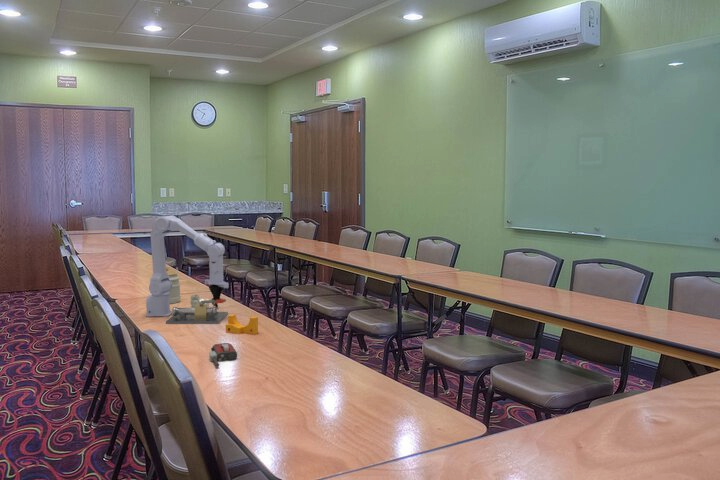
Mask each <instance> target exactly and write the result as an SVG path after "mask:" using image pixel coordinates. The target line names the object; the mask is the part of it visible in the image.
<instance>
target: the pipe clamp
mask: <svg viewBox="0 0 720 480" xmlns="http://www.w3.org/2000/svg"><path fill="white" fill-rule="evenodd" d="M225 333H227V334H237V335H241V334H250V335H256V334H258V333H259V317H258V316H252V317H251V316H250V318H249V322H248V324H247V325H243V324H241V323H240V322H239V319H238V318H237V315H236V314H234V313H233V314H229V315H228V314H227V323H226V324H225Z"/></svg>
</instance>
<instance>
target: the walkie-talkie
mask: <svg viewBox="0 0 720 480" xmlns="http://www.w3.org/2000/svg"><path fill="white" fill-rule="evenodd" d="M210 350H211V351H210V352H209V355H208V356H209V357H208V358H209V360H210V362H212V363H214V365H215V366H216V367H219V366H220V364H219V362H224V361H232V360H235V361H236V360H237V358H238V352H237V351H236V349H235V347H234V346H233V345H232V344H231V343H229V342H221V343H215V344H214V345H212V347H211V348H210Z"/></svg>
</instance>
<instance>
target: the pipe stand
mask: <svg viewBox="0 0 720 480" xmlns="http://www.w3.org/2000/svg"><path fill="white" fill-rule="evenodd" d="M171 311H172V313H171V314H172V316H171V317H170V318H168V319H167V320H166V321H165V325H177V324H178V325H184V324H185V325H186V324H187V325H192V324H193V325H194V324H195V325H198V324H199V325H203V324H204V325H207V324H209V325H210V324H211V325H212V324H213V325H216V324H218V325H219V324H221V322H222V321H223V320H224V319H225V318H226V317H227V316H228V311H218V307H216V306H212V307H210V303H209V304H206V303H205V304H204V305H203V306H200V304H197V305H196V306H195V307H194V308H191V307H178V306H173V307H172V310H171Z"/></svg>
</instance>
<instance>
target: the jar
mask: <svg viewBox="0 0 720 480" xmlns="http://www.w3.org/2000/svg"><path fill="white" fill-rule="evenodd" d="M166 272H167V274H168V275H169V278H170V281H171V283H172V288H171V290H170V291H169V292H170V293H169V298H170V305H172V304H176V303H179V302H181V283H180V279H181V277H180V276H179V275H178V274H179V272H178V271H176V270H174V269H169V266H167V265H166Z"/></svg>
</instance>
